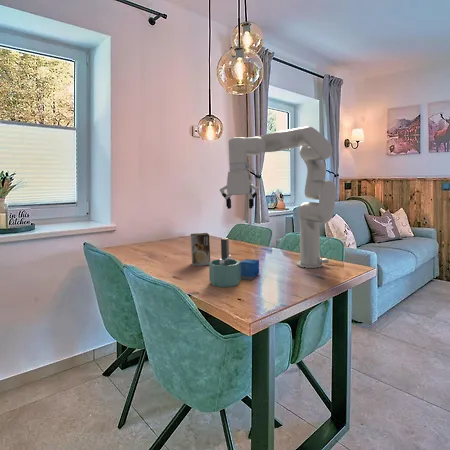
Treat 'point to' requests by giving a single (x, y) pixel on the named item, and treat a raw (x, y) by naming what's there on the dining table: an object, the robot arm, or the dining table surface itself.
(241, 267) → the perfume bottle
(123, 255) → the dining table surface
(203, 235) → the coffee box
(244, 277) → the rubber mat
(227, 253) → the brushed metal bar
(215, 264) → the utensil pot
